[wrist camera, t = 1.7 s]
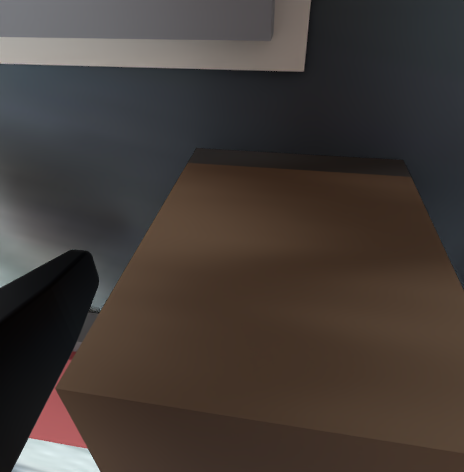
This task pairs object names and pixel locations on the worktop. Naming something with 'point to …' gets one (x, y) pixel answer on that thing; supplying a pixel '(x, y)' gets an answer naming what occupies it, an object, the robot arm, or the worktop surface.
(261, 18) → the frame
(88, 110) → the worktop surface
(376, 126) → the worktop surface
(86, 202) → the worktop surface
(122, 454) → the brown cardboard box
